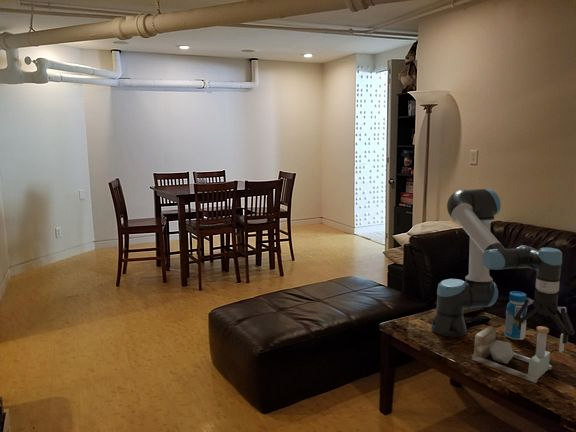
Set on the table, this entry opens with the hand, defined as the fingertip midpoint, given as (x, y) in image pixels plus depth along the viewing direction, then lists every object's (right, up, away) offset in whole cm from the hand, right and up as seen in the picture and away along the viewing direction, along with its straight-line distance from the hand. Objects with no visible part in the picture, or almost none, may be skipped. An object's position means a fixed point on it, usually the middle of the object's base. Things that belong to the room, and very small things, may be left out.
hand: (541, 344), depth 175 cm
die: (-9, -10, +12) cm, 19 cm away
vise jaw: (0, -11, +2) cm, 12 cm away
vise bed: (-7, -10, +10) cm, 16 cm away
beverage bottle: (+7, -6, +35) cm, 36 cm away
